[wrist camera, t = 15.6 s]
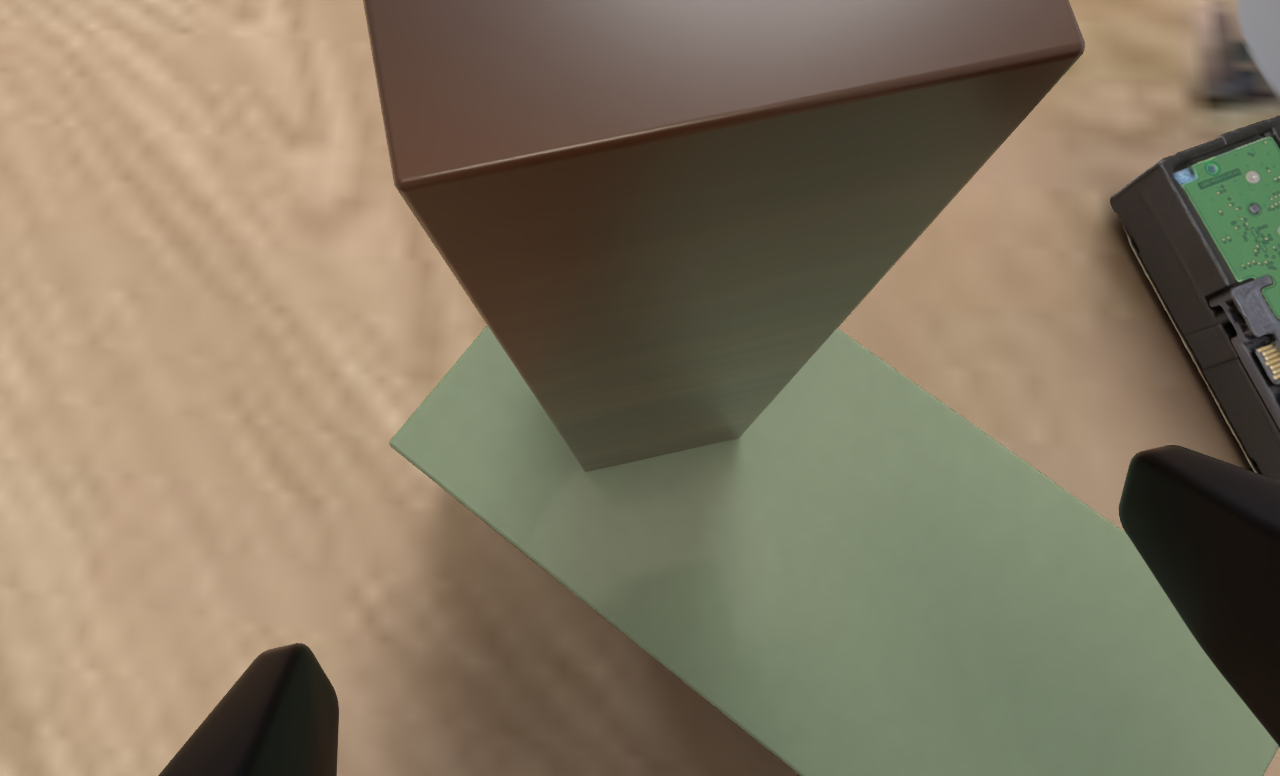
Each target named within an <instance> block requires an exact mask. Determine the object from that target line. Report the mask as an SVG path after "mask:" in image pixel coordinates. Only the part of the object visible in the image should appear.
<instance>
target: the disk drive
mask: <svg viewBox="0 0 1280 776" xmlns="http://www.w3.org/2000/svg"><path fill="white" fill-rule="evenodd" d="M1110 203H1111V206H1112V208H1113V210H1114V212H1116V213H1117V214H1118V216H1119V218H1120V220H1121V223H1122V226H1123V228H1124V231H1125V232H1126V234H1127V237H1128V241H1129V243H1130V246H1131V248H1132V250H1133V251H1134V253H1135V255H1136V257H1137V259H1138V261H1139V263H1140V265H1141V266H1142V268H1143V270H1144V273H1145V275H1146V276H1147V278H1148V279H1149V281H1150V283H1151V284H1152V286H1153V288H1154V290H1155V292H1156V294H1157V296H1158V298H1159V300H1160V301H1161V303H1162V305H1163V307H1164V309H1165V311H1166V312H1167V313H1168V316H1169V318H1170V319H1171V321H1172V323H1173V325H1174V327H1175V329H1176V330H1177V332H1178V334H1179V335H1180V337H1181V339H1182V341H1183V344H1184V346H1185V348H1186V349H1187V351H1188V352H1189V354H1190V355H1191V358H1192V360H1193V362H1194V363H1195V365H1196V366H1197V368H1198V371H1199V373H1200V374H1201V376H1202V378H1203V379H1204V381H1205V383H1206V385H1207V386H1208V389H1209V391H1210V393H1211V394H1212V396H1213V398H1214V399H1215V402H1216V404H1217V405H1218V407H1219V410H1220V411H1221V413H1222V415H1223V417H1224V419H1225V421H1226V423H1227V424H1228V426H1229V427H1230V429H1231V432H1232V434H1233V435H1234V436H1235V438H1236V440H1237V442H1238V443H1239V444H1240V447H1241V449H1242V451H1243V452H1244V454H1245V457H1246V459H1247V460H1248V462H1249V464H1250V466H1251V467H1252V469H1253V471H1254V472H1255V473H1258V474H1261V475H1264V476H1266V477H1269V478H1272V479H1275V480H1278V481H1280V116H1276V117H1275V118H1271V119H1269V120H1264V121H1261V122H1257V123H1254V124H1251V125H1248V126H1246V127H1243V128H1239V129H1236V130H1234V131H1231V132H1227V133H1225V134H1222V135H1220V136H1219V137H1217V138H1216V139H1215V140H1213V141H1210V142H1207V143H1204V144H1202V145H1199V146H1196V147H1193V148H1190V149H1187V150H1185V151H1182V152H1178V153H1177V154H1175V155H1173V156H1169V157H1167V158H1164V159H1162V160H1161V161H1159V162H1158V163H1157V164H1155V165H1154V166H1152V167H1151V168H1150V169H1148V170H1147V171H1145V172H1144V173H1142V174H1141V175H1140V176H1138V177H1137V178H1136V179H1135V180H1133V181H1132V182H1131V183H1130V184H1128V185H1126V186H1125V187H1124V188H1123V189H1122V190H1121V191H1119V192H1118V193H1116V194H1115V195H1114V196H1112V197H1111V199H1110Z"/></svg>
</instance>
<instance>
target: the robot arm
mask: <svg viewBox="0 0 1280 776" xmlns="http://www.w3.org/2000/svg"><path fill="white" fill-rule="evenodd" d="M1119 516H1120V521H1121V523H1122V526H1123V528H1124V530H1125V532H1126V534H1127V535H1128V537H1129V538H1130V540H1131V541H1132V543H1133V544H1134V546H1135V547H1136V549H1137V550H1138V552H1139V554H1140V555H1141V557H1142V558H1143V560H1144V561H1145V563H1146V564H1147V566H1148V567H1149V569H1150V570H1151V572H1152V573H1153V575H1154V577H1155V578H1156V580H1157V581H1158V583H1159V584H1160V586H1161V587H1162V589H1163V590H1164V592H1165V593H1166V595H1167V597H1168V598H1169V600H1170V601H1171V603H1172V604H1173V606H1174V607H1175V609H1176V610H1177V612H1178V613H1179V615H1180V617H1181V618H1182V620H1183V621H1184V623H1185V624H1186V626H1187V627H1188V629H1189V630H1190V632H1191V633H1192V635H1193V636H1194V638H1195V639H1196V640H1197V642H1198V643H1199V645H1200V646H1201V648H1202V649H1203V651H1204V652H1205V653H1206V655H1207V656H1208V657H1209V658H1210V660H1211V661H1212V662H1213V664H1214V665H1215V666H1216V668H1217V669H1218V670H1219V672H1220V673H1221V674H1222V675H1223V677H1224V678H1225V679H1226V680H1227V682H1228V683H1229V684H1230V685H1231V687H1232V688H1233V689H1234V690H1235V692H1236V693H1237V694H1238V695H1239V697H1240V698H1241V699H1242V700H1243V702H1244V703H1245V704H1246V705H1247V707H1248V708H1249V709H1250V711H1251V712H1252V713H1253V714H1254V716H1255V717H1256V718H1257V719H1258V721H1259V722H1260V723H1261V724H1262V726H1263V727H1264V728H1265V729H1266V731H1267V732H1268V733H1269V734H1270V736H1271V737H1272V738H1273V739H1274V741H1275V742H1276V743H1277V744H1278V746H1279V747H1280V481H1278V480H1275V479H1272V478H1269V477H1266V476H1264V475H1261V474H1258V473H1255V472H1252V471H1249V470H1247V469H1244V468H1241V467H1238V466H1235V465H1233V464H1230V463H1227V462H1224V461H1221V460H1218V459H1216V458H1213V457H1210V456H1207V455H1204V454H1202V453H1199V452H1196V451H1193V450H1190V449H1187V448H1185V447H1181V446H1176V445H1168V446H1163V447H1159V448H1155V449H1150V450H1146V451H1141V452H1139V453H1137V454H1136V455H1135V456H1134V457H1133V458H1132V460H1131V462H1130V465H1129V469H1128V473H1127V477H1126V481H1125V485H1124V488H1123V492H1122V496H1121V500H1120V504H1119ZM338 724H339V706H338V699H337V695H336V692H335V690H334V688H333V686H332V684H331V683H330V681H329V679H328V678H327V676H326V674H325V673H324V671H323V669H322V668H321V666H320V664H319V663H318V661H317V659H316V658H315V656H314V654H313V653H312V651H311V650H310V648H309V647H308V646H306V645H305V644H302V643H300V644H299V643H296V644H292V645H288V646H283V647H279V648H274V649H270V650H267V651H265V652H263V653H262V654H260V655H259V656H258V657H257V658H256V659H255V660H254V661H253V663H252V664H251V665H250V666H249V667H248V669H247V670H246V671H245V672H244V673H243V675H242V676H241V677H240V678H239V679H238V681H237V682H236V683H235V684H234V685H233V687H232V688H231V689H230V690H229V691H228V693H227V694H226V695H225V696H224V697H223V699H222V700H221V701H220V702H219V703H218V705H217V706H216V707H215V708H214V709H213V711H212V712H211V713H210V714H209V715H208V717H207V718H206V719H205V720H204V721H203V723H202V724H201V725H200V726H199V727H198V729H197V730H196V731H195V732H194V733H193V735H192V736H191V737H190V738H189V739H188V741H187V742H186V743H185V744H184V745H183V747H182V748H181V749H180V750H179V752H178V753H177V754H176V755H175V756H174V758H173V759H172V760H171V761H170V762H169V764H168V765H167V766H166V767H165V768H164V770H163V771H162V772H161V773H160V774H159V776H337V750H338Z"/></svg>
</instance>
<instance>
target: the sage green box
mask: <svg viewBox="0 0 1280 776" xmlns="http://www.w3.org/2000/svg"><path fill="white" fill-rule="evenodd" d="M389 444H390V446H391V447H392V448H393V449H395V450H396V451H397V452H398V453H399V454H401V455H402V456H403V457H404V458H406V459H407V460H408V461H409V462H411V463H412V464H413V465H414V466H416V467H417V468H418V469H419V470H421V471H422V472H423V473H424V474H426V475H427V476H428V477H429V478H431V479H432V480H433V481H434V482H436V483H437V484H438V485H439V486H441V487H442V488H443V489H444V490H446V491H447V492H448V493H449V494H450V495H452V496H453V497H454V498H455V499H457V500H458V501H459V502H460V503H462V504H463V505H464V506H465V507H467V508H468V509H469V510H470V511H472V512H473V513H474V514H475V515H477V516H478V517H479V518H480V519H482V520H483V521H484V522H485V523H487V524H488V525H489V526H490V527H492V528H493V529H494V530H495V531H497V532H498V533H499V534H500V535H501V536H503V537H504V538H505V539H506V540H508V541H509V542H510V543H511V544H513V545H514V546H515V547H516V548H518V549H519V550H520V551H521V552H523V553H524V554H525V555H526V556H528V557H529V558H530V559H531V560H533V561H534V562H535V563H536V564H538V565H539V566H540V567H541V568H543V569H544V570H545V571H546V572H547V573H549V574H550V575H551V576H552V577H554V578H555V579H556V580H557V581H559V582H560V583H561V584H562V585H564V586H565V587H566V588H567V589H569V590H570V591H571V592H572V593H574V594H575V595H576V596H577V597H579V598H580V599H581V600H582V601H584V602H585V603H586V604H587V605H589V606H590V607H591V608H592V609H594V610H595V611H596V612H597V613H598V614H600V615H601V616H602V617H603V618H605V619H606V620H607V621H608V622H610V623H611V624H612V625H613V626H615V627H616V628H617V629H618V630H620V631H621V632H622V633H623V634H625V635H626V636H627V637H628V638H630V639H631V640H632V641H633V642H635V643H636V644H637V645H638V646H640V647H641V648H642V649H643V650H645V651H646V652H647V653H648V654H649V655H651V656H652V657H653V658H654V659H656V660H657V661H658V662H659V663H661V664H662V665H663V666H664V667H666V668H667V669H668V670H669V671H671V672H672V673H673V674H674V675H676V676H677V677H678V678H679V679H681V680H682V681H683V682H684V683H686V684H687V685H688V686H689V687H691V688H692V689H693V690H694V691H696V692H697V693H698V694H699V695H700V696H702V697H703V698H704V699H705V700H707V701H708V702H709V703H710V704H712V705H713V706H714V707H715V708H717V709H718V710H719V711H720V712H722V713H723V714H724V715H725V716H727V717H728V718H729V719H730V720H732V721H733V722H734V723H735V724H737V725H738V726H739V727H740V728H742V729H743V730H744V731H745V732H747V733H748V734H749V735H750V736H751V737H753V738H754V739H755V740H756V741H758V742H759V743H760V744H761V745H763V746H764V747H765V748H766V749H768V750H769V751H770V752H771V753H773V754H774V755H775V756H776V757H778V758H779V759H780V760H781V761H783V762H784V763H785V764H786V765H788V766H789V767H790V768H791V769H793V770H794V771H795V772H796V773H798V774H799V775H800V776H1263V775H1264V773H1265V771H1266V770H1267V768H1268V766H1269V764H1270V762H1271V761H1272V759H1273V757H1274V755H1275V753H1276V751H1277V750H1278V748H1279V746H1278V744H1277V743H1276V742H1275V741H1274V739H1273V738H1272V737H1271V736H1270V734H1269V733H1268V732H1267V731H1266V729H1265V728H1264V727H1263V726H1262V724H1261V723H1260V722H1259V721H1258V719H1257V718H1256V717H1255V716H1254V714H1253V713H1252V712H1251V711H1250V709H1249V708H1248V707H1247V705H1246V704H1245V703H1244V702H1243V700H1242V699H1241V698H1240V697H1239V695H1238V694H1237V693H1236V692H1235V690H1234V689H1233V688H1232V687H1231V685H1230V684H1229V683H1228V682H1227V680H1226V679H1225V678H1224V677H1223V675H1222V674H1221V673H1220V672H1219V670H1218V669H1217V668H1216V666H1215V665H1214V664H1213V662H1212V661H1211V660H1210V658H1209V657H1208V656H1207V655H1206V653H1205V652H1204V651H1203V649H1202V648H1201V646H1200V645H1199V643H1198V642H1197V640H1196V639H1195V638H1194V636H1193V635H1192V633H1191V632H1190V630H1189V629H1188V627H1187V626H1186V624H1185V623H1184V621H1183V620H1182V618H1181V617H1180V615H1179V613H1178V612H1177V610H1176V609H1175V607H1174V606H1173V604H1172V603H1171V601H1170V600H1169V598H1168V597H1167V595H1166V593H1165V592H1164V590H1163V589H1162V587H1161V586H1160V584H1159V583H1158V581H1157V580H1156V578H1155V577H1154V575H1153V573H1152V572H1151V570H1150V569H1149V567H1148V566H1147V564H1146V563H1145V561H1144V560H1143V558H1142V557H1141V555H1140V554H1139V552H1138V550H1137V549H1136V547H1135V546H1134V544H1133V543H1132V541H1131V540H1130V538H1129V537H1128V535H1127V534H1126V533H1125V532H1124V531H1122V530H1121V529H1119V528H1118V527H1117V526H1115V525H1114V524H1112V523H1111V522H1109V521H1108V520H1107V519H1105V518H1104V517H1102V516H1101V515H1100V514H1098V513H1097V512H1095V511H1094V510H1093V509H1091V508H1090V507H1088V506H1087V505H1086V504H1084V503H1083V502H1081V501H1080V500H1079V499H1077V498H1076V497H1074V496H1073V495H1071V494H1070V493H1069V492H1067V491H1066V490H1064V489H1063V488H1062V487H1060V486H1059V485H1057V484H1056V483H1055V482H1053V481H1052V480H1050V479H1049V478H1048V477H1046V476H1045V475H1043V474H1042V473H1041V472H1039V471H1038V470H1036V469H1035V468H1033V467H1032V466H1031V465H1029V464H1028V463H1026V462H1025V461H1024V460H1022V459H1021V458H1019V457H1018V456H1017V455H1015V454H1014V453H1012V452H1011V451H1010V450H1008V449H1007V448H1005V447H1004V446H1003V445H1001V444H1000V443H998V442H997V441H995V440H994V439H993V438H991V437H990V436H988V435H987V434H986V433H984V432H983V431H981V430H980V429H979V428H977V427H976V426H974V425H973V424H972V423H970V422H969V421H967V420H966V419H965V418H963V417H962V416H960V415H959V414H957V413H956V412H955V411H953V410H952V409H950V408H949V407H948V406H946V405H945V404H943V403H942V402H941V401H939V400H938V399H936V398H935V397H934V396H932V395H931V394H929V393H928V392H927V391H925V390H924V389H922V388H921V387H919V386H918V385H917V384H915V383H914V382H912V381H911V380H910V379H908V378H907V377H905V376H904V375H903V374H901V373H900V372H898V371H897V370H896V369H894V368H893V367H891V366H890V365H889V364H887V363H886V362H884V361H883V360H881V359H880V358H879V357H877V356H876V355H874V354H873V353H872V352H870V351H869V350H867V349H866V348H865V347H863V346H862V345H860V344H859V343H858V342H856V341H855V340H853V339H852V338H851V337H849V336H848V335H846V334H845V333H843V332H842V331H841V330H839V329H838V328H837V329H836V330H835V331H834V332H833V334H832V335H831V336H830V337H829V338H828V339H827V340H826V341H825V343H824V344H823V345H822V346H821V347H820V348H819V349H818V350H817V351H816V353H815V354H814V355H813V356H812V357H811V358H810V359H809V360H808V362H807V363H806V364H805V365H804V366H803V367H802V368H801V369H800V370H799V372H798V373H797V374H796V375H795V376H794V377H793V378H792V379H791V381H790V382H789V383H788V384H787V385H786V386H785V387H784V388H783V389H782V391H781V392H780V393H779V394H778V395H777V396H776V397H775V398H774V400H773V401H772V402H771V403H770V404H769V405H768V406H767V407H766V409H765V410H764V411H763V412H762V413H761V414H760V415H759V416H758V417H757V419H756V420H755V421H754V422H753V423H752V424H751V425H750V426H749V428H748V429H747V430H746V431H745V432H744V433H743V434H742V435H741V436H740V437H739V438H737V439H732V440H728V441H723V442H719V443H714V444H710V445H705V446H701V447H696V448H692V449H687V450H683V451H678V452H674V453H669V454H665V455H660V456H656V457H651V458H647V459H642V460H638V461H633V462H629V463H624V464H620V465H615V466H611V467H606V468H602V469H597V470H593V471H588V472H585V471H584V469H583V468H582V466H581V465H580V463H579V462H578V460H577V459H576V457H575V456H574V454H573V453H572V451H571V450H570V448H569V447H568V445H567V444H566V442H565V441H564V439H563V438H562V436H561V435H560V433H559V432H558V430H557V429H556V427H555V426H554V424H553V423H552V421H551V420H550V418H549V417H548V415H547V414H546V412H545V411H544V409H543V408H542V406H541V405H540V403H539V402H538V400H537V399H536V397H535V396H534V394H533V393H532V391H531V390H530V388H529V387H528V385H527V384H526V382H525V381H524V379H523V378H522V376H521V375H520V373H519V372H518V370H517V369H516V367H515V366H514V364H513V363H512V361H511V360H510V358H509V357H508V355H507V354H506V352H505V351H504V349H503V348H502V346H501V345H500V343H499V342H498V340H497V339H496V337H495V336H494V334H493V333H492V331H491V330H490V328H489V327H488V325H487V326H486V328H485V329H484V330H483V331H482V332H481V334H480V335H479V336H478V337H477V338H476V340H475V341H474V342H473V343H472V344H471V345H470V347H469V348H468V349H467V350H466V351H465V353H464V354H463V355H462V356H461V357H460V359H459V360H458V361H457V362H456V363H455V364H454V366H453V367H452V368H451V369H450V370H449V372H448V373H447V374H446V375H445V376H444V378H443V379H442V380H441V381H440V382H439V383H438V385H437V386H436V387H435V388H434V389H433V391H432V392H431V393H430V394H429V395H428V397H427V398H426V399H425V400H424V401H423V402H422V404H421V405H420V406H419V407H418V408H417V410H416V411H415V412H414V413H413V414H412V416H411V417H410V418H409V419H408V420H407V421H406V423H405V424H404V425H403V426H402V427H401V429H400V430H399V431H398V432H397V433H396V435H395V436H394V437H393V438H392V439H391V441H390V443H389Z"/></svg>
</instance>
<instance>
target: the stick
mask: <svg viewBox="0 0 1280 776" xmlns="http://www.w3.org/2000/svg"><path fill="white" fill-rule="evenodd" d="M363 3H364V8H365V14H366V20H367V26H368V32H369V38H370V44H371V50H372V56H373V62H374V67H375V73H376V79H377V85H378V91H379V97H380V103H381V109H382V115H383V121H384V126H385V132H386V138H387V144H388V150H389V156H390V162H391V168H392V174H393V180H394V185H395V187H396V188H397V190H398V191H399V193H400V194H401V196H402V197H403V199H404V200H405V202H406V203H407V205H408V206H409V208H410V209H411V211H412V212H413V214H414V215H415V217H416V218H417V220H418V221H419V223H420V224H421V226H422V227H423V229H424V230H425V232H426V233H427V235H428V236H429V238H430V239H431V241H432V242H433V244H434V245H435V247H436V248H437V250H438V251H439V253H440V254H441V256H442V257H443V259H444V260H445V262H446V263H447V265H448V266H449V268H450V269H451V271H452V272H453V274H454V275H455V277H456V278H457V280H458V281H459V283H460V284H461V286H462V287H463V289H464V290H465V292H466V293H467V295H468V296H469V298H470V299H471V301H472V302H473V304H474V305H475V307H476V308H477V310H478V311H479V313H480V314H481V316H482V317H483V319H484V321H485V322H486V324H487V325H488V327H489V328H490V330H491V331H492V333H493V334H494V336H495V337H496V339H497V340H498V342H499V343H500V345H501V346H502V348H503V349H504V351H505V352H506V354H507V355H508V357H509V358H510V360H511V361H512V363H513V364H514V366H515V367H516V369H517V370H518V372H519V373H520V375H521V376H522V378H523V379H524V381H525V382H526V384H527V385H528V387H529V388H530V390H531V391H532V393H533V394H534V396H535V397H536V399H537V400H538V402H539V403H540V405H541V406H542V408H543V409H544V411H545V412H546V414H547V415H548V417H549V418H550V420H551V421H552V423H553V424H554V426H555V427H556V429H557V430H558V432H559V433H560V435H561V436H562V438H563V439H564V441H565V442H566V444H567V445H568V447H569V448H570V450H571V451H572V453H573V454H574V456H575V457H576V459H577V460H578V462H579V463H580V465H581V466H582V468H583V469H584V471H585V472H588V471H593V470H597V469H602V468H606V467H611V466H615V465H620V464H624V463H629V462H633V461H638V460H642V459H647V458H651V457H656V456H660V455H665V454H669V453H674V452H678V451H683V450H687V449H692V448H696V447H701V446H705V445H710V444H714V443H719V442H723V441H728V440H732V439H737V438H739V437H740V436H741V435H742V434H743V433H744V432H745V431H746V430H747V429H748V428H749V426H750V425H751V424H752V423H753V422H754V421H755V420H756V419H757V417H758V416H759V415H760V414H761V413H762V412H763V411H764V410H765V409H766V407H767V406H768V405H769V404H770V403H771V402H772V401H773V400H774V398H775V397H776V396H777V395H778V394H779V393H780V392H781V391H782V389H783V388H784V387H785V386H786V385H787V384H788V383H789V382H790V381H791V379H792V378H793V377H794V376H795V375H796V374H797V373H798V372H799V370H800V369H801V368H802V367H803V366H804V365H805V364H806V363H807V362H808V360H809V359H810V358H811V357H812V356H813V355H814V354H815V353H816V351H817V350H818V349H819V348H820V347H821V346H822V345H823V344H824V343H825V341H826V340H827V339H828V338H829V337H830V336H831V335H832V334H833V332H834V331H835V330H836V329H837V328H838V327H839V326H840V325H841V323H842V322H843V321H844V320H845V319H846V318H847V317H848V316H849V315H850V313H851V312H852V311H853V310H854V309H855V308H856V307H857V306H858V304H859V303H860V302H861V301H862V300H863V299H864V298H865V297H866V296H867V294H868V293H869V292H870V291H871V290H872V289H873V288H874V287H875V285H876V284H877V283H878V282H879V281H880V280H881V279H882V278H883V276H884V275H885V274H886V273H887V272H888V271H889V270H890V269H891V268H892V266H893V265H894V264H895V263H896V262H897V261H898V260H899V259H900V257H901V256H902V255H903V254H904V253H905V252H906V251H907V250H908V249H909V247H910V246H911V245H912V244H913V243H914V242H915V241H916V240H917V238H918V237H919V236H920V235H921V234H922V233H923V232H924V231H925V230H926V228H927V227H928V226H929V225H930V224H931V223H932V222H933V221H934V219H935V218H936V217H937V216H938V215H939V214H940V213H941V212H942V210H943V209H944V208H945V207H946V206H947V205H948V204H949V203H950V202H951V200H952V199H953V198H954V197H955V196H956V195H957V194H958V193H959V191H960V190H961V189H962V188H963V187H964V186H965V185H966V184H967V183H968V181H969V180H970V179H971V178H972V177H973V176H974V175H975V174H976V172H977V171H978V170H979V169H980V168H981V167H982V166H983V165H984V163H985V162H986V161H987V160H988V159H989V158H990V157H991V156H992V155H993V153H994V152H995V151H996V150H997V149H998V148H999V147H1000V146H1001V144H1002V143H1003V142H1004V141H1005V140H1006V139H1007V138H1008V137H1009V136H1010V134H1011V133H1012V132H1013V131H1014V130H1015V129H1016V128H1017V127H1018V125H1019V124H1020V123H1021V122H1022V121H1023V120H1024V119H1025V118H1026V116H1027V115H1028V114H1029V113H1030V112H1031V111H1032V110H1033V109H1034V108H1035V106H1036V105H1037V104H1038V103H1039V102H1040V101H1041V100H1042V99H1043V97H1044V96H1045V95H1046V94H1047V93H1048V92H1049V91H1050V90H1051V89H1052V87H1053V86H1054V85H1055V84H1056V83H1057V82H1058V81H1059V80H1060V78H1061V77H1062V76H1063V75H1064V74H1065V73H1066V72H1067V71H1068V70H1069V68H1070V67H1071V66H1072V65H1073V64H1074V63H1075V62H1076V61H1077V59H1078V58H1079V57H1080V56H1081V55H1082V54H1083V51H1084V48H1085V42H1084V39H1083V37H1082V34H1081V32H1080V29H1079V26H1078V24H1077V21H1076V19H1075V16H1074V13H1073V11H1072V8H1071V6H1070V3H1069V1H1068V0H363Z"/></svg>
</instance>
